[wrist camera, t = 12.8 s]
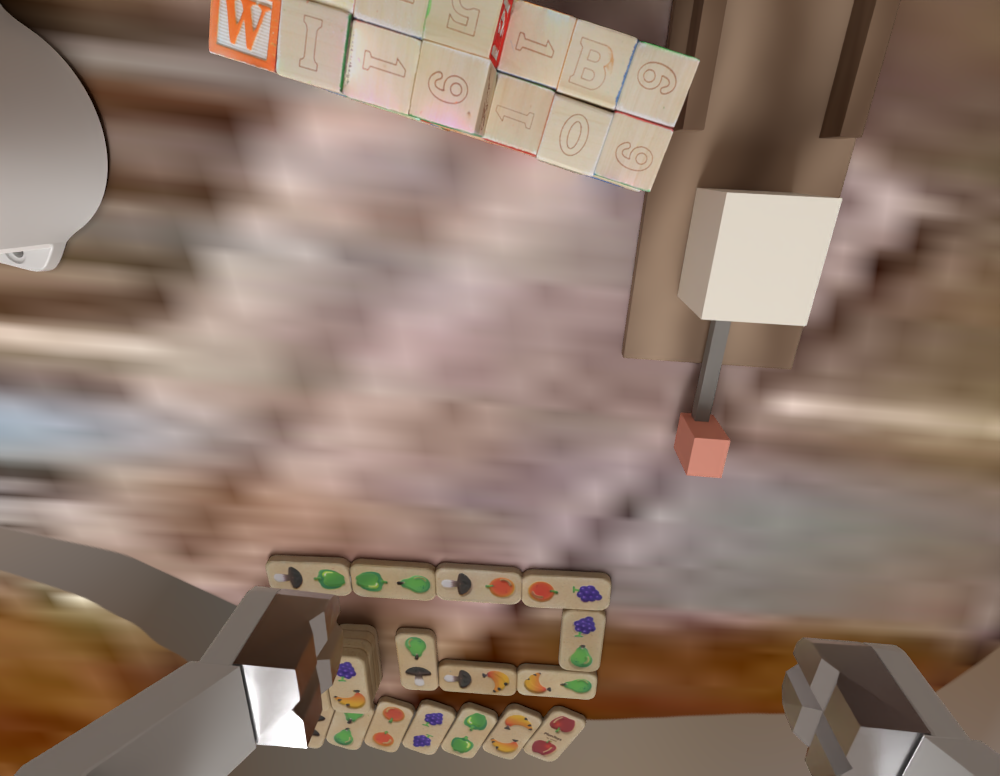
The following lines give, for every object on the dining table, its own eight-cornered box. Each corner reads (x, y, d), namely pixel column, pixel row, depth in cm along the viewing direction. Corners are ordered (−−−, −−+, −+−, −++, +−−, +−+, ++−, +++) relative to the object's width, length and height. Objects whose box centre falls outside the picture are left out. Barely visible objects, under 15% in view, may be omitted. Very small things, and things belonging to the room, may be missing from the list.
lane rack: (621, 353, 40) (631, 378, 35) (694, -147, 28) (723, -207, 24) (785, 364, 39) (817, 391, 34) (925, -142, 28) (1000, -202, 23)
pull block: (650, 445, 41) (666, 489, 36) (696, 187, 34) (726, 192, 28) (728, 451, 41) (757, 496, 35) (793, 192, 33) (842, 198, 28)
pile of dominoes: (288, 736, 61) (265, 787, 56) (243, 548, 51) (210, 591, 46) (591, 759, 59) (596, 815, 54) (611, 566, 48) (619, 614, 43)
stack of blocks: (662, 86, 33) (725, 46, 22) (624, 189, 35) (662, 201, 24) (329, -27, 32) (212, -131, 21) (313, 87, 34) (201, 50, 23)
